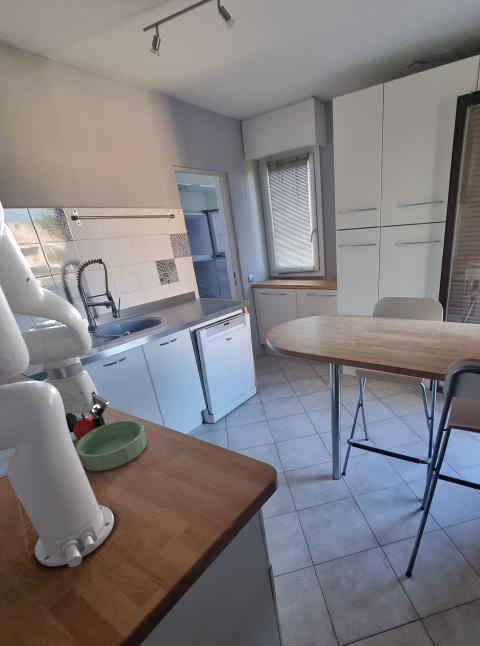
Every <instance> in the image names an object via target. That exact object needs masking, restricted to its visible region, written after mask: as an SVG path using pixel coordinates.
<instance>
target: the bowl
mask: <svg viewBox="0 0 480 646" xmlns="http://www.w3.org/2000/svg"><path fill="white" fill-rule="evenodd" d="M147 445H148V438H147V435H146V432H145V428H144V426H143V424H142V423H140V422H139V421H136V420H131V419H130V420H129V419H123V420H116V421H113V422H109V423H105V425H103V426H100V427H98V428H96V429H94V430H92V431H90V432H88V433H87V434H86V435H84V436H83V437H82V438H81V439H80V440H79V439H78V441H77V442H76V445H75V450H76V452H77V455H78V457H79V459H80V462H81V464H82V467H83V469H86V470H88V471H93V472H94V471H97V472H100V471H107V470H111V469H114V468H119V467H121V466H122V465H125V464H127V463H129V462H131V461H132V460H134V459H135V458H137V457H138V456H139V455H140V454H142V453H143V452H144V450H145V449H146V446H147Z"/></svg>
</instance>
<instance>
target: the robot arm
mask: <svg viewBox="0 0 480 646" xmlns="http://www.w3.org/2000/svg"><path fill="white" fill-rule="evenodd" d="M4 215H5V214H4V208H3V205H2V202H1V201H0V381H4V380H8V379H11V378H14V377H17V376H19V375H21V374H22V373H24V372H25V371H26V370H27V368H29V366H38V365H43V367H42V370H43V372H45V373H46V374H47V377H46V382H45V381H41V380H24V381H18V382H17V381H16V382H12V383H7V384H2V385H0V451H4V450H8V449H16V450H15V451H14V453H13V455H12V456H11V458H10V460H9V462H8V465H7V468H6V475H7V479H8V482H9V484H10V486H11V487H12V488H13V490H14V492H15V494H16V496H17V498H18V500H19V501H20V503H21V505H22V507H23V510H24V511H25V513H26V515H27V517H28V518H29V520H30V522H31V524H32V526H33V527H34V530H35V531H36V533H37V535H38V537H39V538H38V539H37V541H36V543H35V546H34V554H35V557H36V559H37V561H38V562H39V563H40V564H42V565H43V566H48V567H58V566H59V567H60V566H63V565H68V567H69V568H75V567H77V566H79V565H80V564H81V562H82V561H83V558H84V557H86V556H87V555H89V554H90V553H92V552H93V551H94V550H96V549H97V548H98V547H100V546H101V544H102V543H103V542H104V541H106V539H107V538H108V537H109V535H110V533H111V531H112V530H113V527H114V523H115V517H114V515H113V514H114V513H113V511H112V510H111V509H110V508H109V507H107V506H105V505H101V504H99V503H98V501H97V498H96V495H95V493H94V491H93V489H92V485H91V484H90V481H89V479H88V476H87V474H86V471H85V468H84V467H83V466H82V464H81V462H80V459H79V457H78V455H77V452H76V450H75V448H76V446H75V445H74V443H73V440H72V436H71V433H73V427H74V425H75V423H76V422H77V421H78V420H79V419H78V418H77V416H76V414H82V413H83V414H86V413H87V414H90V416H92V417H94V418H93V419H92V421H93V423H94V426H95V429H96V428H98V427H100V426H103V425H105V424H106V422H105V419H104V417H103V416H104V415H103V414H104V412H105V411H106V410H107V408H108V406H109V404H110V402H109V401H108V400H106V399H105V398H103V397H101V396H100V395H99V393H98V390H97V388H96V386H95V384H94V381H93V380H92V378H91V377H90V375H89V373H88V371H87V370H85V369H84V366H83V363H82V361H81V358H80V357H84V356H86V355H88V354H89V353H90V352H91V351H92V347H93V341H92V337H91V333H90V332H89V330H88V327H87V325H86V323H85V320H84V319H83V317H82V315H81V313H80V312H79V310H78V309H77V308H76V307H75V306H74V305H73V304H71V302H69V301H68V300H66V299H65V298H63V297H62V296H60V295H58V294H57V293H55V292H53V291H51V290H48V289H46V288H44V287H42V286H40V284H39V282H38V281H37V278H36V277H35V275H34V273H33V271H32V269H31V267H30V266H29V264H28V261H27V260H26V258H25V256H24V254H23V253H22V251H21V248H20V246H19V245H18V243H17V241H16V239H15V237H14V235H13V234H12V232H11V230H10V228H9V227H8V225H7V224H6V223H5V216H4ZM14 314H16V315H22V316H28V317H34V318H35V317H36V318H41V319H47V320H45V321H41V322H38V323H36V324H34V325H32V326H31V327H30V329H28V330H25V331H21V330H20V326H19V325H18V323H17V321H16V318H15V316H14Z"/></svg>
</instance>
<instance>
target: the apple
mask: <svg viewBox="0 0 480 646" xmlns="http://www.w3.org/2000/svg"><path fill="white" fill-rule="evenodd" d="M80 415H81V418H79V419H77V420H78V421H77V422H76V423H75V425H74V427H73V432H72V433H73V435H74V437H75V439H77V440H78V441H79V440H80V439H81V438H82V437H83V436H84V435H86V434H87V433H88V432H90V431H92V430H94V429H95V426H94V423H93V421H92V419H93V418H94V417H93V416H92V415H88V416H87V415H85V413H80Z"/></svg>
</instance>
